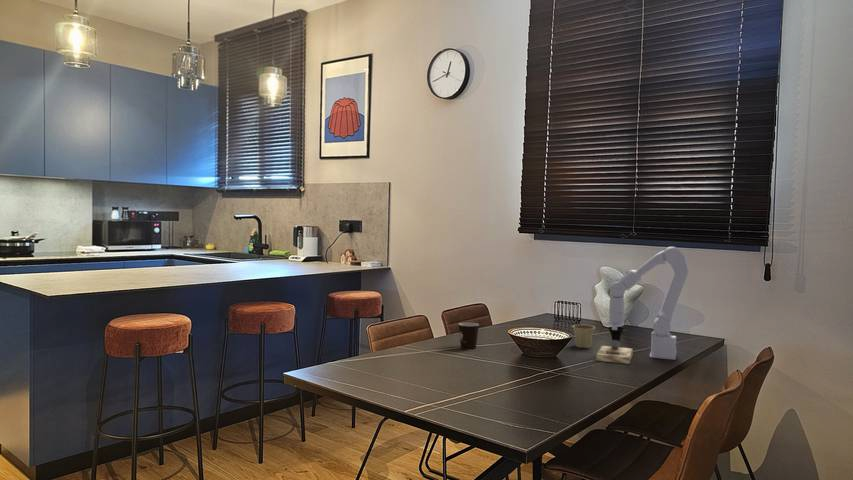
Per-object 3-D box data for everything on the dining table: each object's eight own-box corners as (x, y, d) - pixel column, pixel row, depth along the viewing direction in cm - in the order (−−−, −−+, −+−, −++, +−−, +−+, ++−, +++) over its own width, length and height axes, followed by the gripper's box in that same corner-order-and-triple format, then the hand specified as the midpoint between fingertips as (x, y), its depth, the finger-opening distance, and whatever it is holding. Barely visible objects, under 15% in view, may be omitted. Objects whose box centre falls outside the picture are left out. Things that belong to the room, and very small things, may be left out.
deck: (632, 354, 238) (632, 348, 238) (629, 363, 222) (629, 357, 222) (601, 351, 243) (602, 345, 243) (596, 360, 227) (596, 354, 227)
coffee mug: (479, 350, 242) (479, 326, 242) (458, 350, 242) (458, 326, 242) (477, 344, 254) (477, 321, 254) (457, 344, 254) (457, 321, 254)
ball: (620, 348, 238) (620, 339, 238) (619, 350, 235) (619, 341, 235) (610, 347, 240) (611, 338, 239) (609, 349, 236) (610, 340, 236)
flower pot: (589, 350, 245) (590, 329, 245) (568, 347, 251) (568, 326, 250) (597, 346, 252) (598, 326, 252) (577, 343, 258) (577, 323, 258)
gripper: (608, 308, 248) (607, 340, 248) (604, 313, 234) (603, 347, 235) (626, 309, 245) (625, 342, 245) (622, 314, 232) (622, 348, 232)
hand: (615, 344), depth 240 cm, fingers closed
